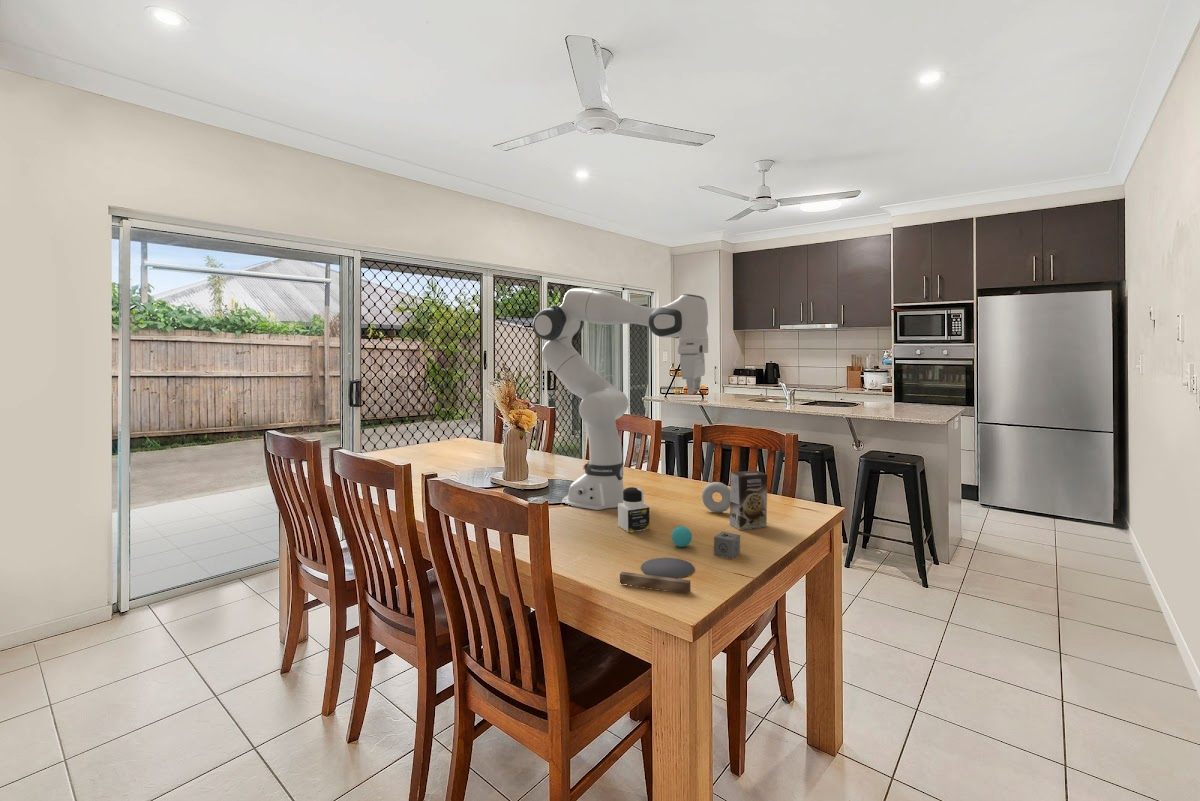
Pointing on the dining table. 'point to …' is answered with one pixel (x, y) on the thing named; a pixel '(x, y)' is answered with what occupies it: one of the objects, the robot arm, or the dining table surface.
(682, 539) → the ball
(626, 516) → the medicine bottle
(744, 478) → the cookie box
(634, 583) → the stopper strip
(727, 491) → the donut
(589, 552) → the dining table surface
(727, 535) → the gray cube
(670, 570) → the disc
